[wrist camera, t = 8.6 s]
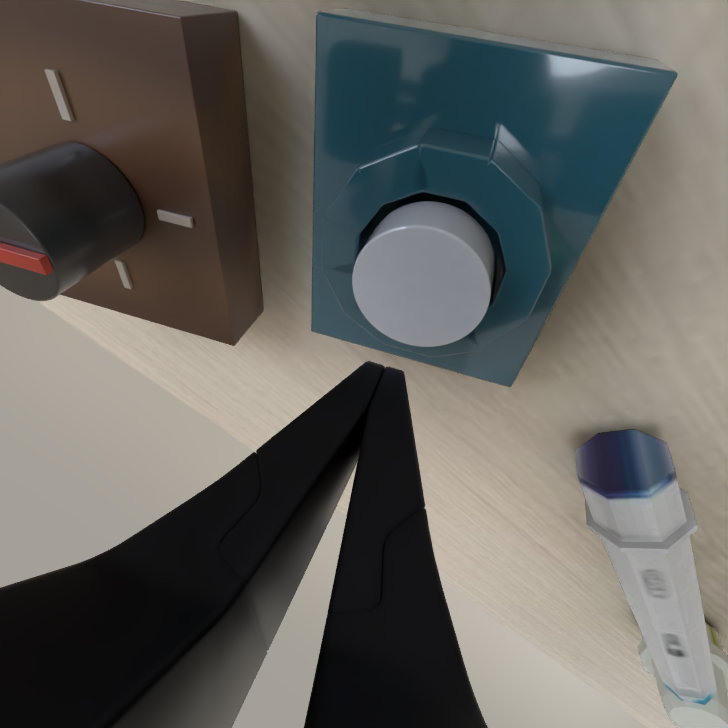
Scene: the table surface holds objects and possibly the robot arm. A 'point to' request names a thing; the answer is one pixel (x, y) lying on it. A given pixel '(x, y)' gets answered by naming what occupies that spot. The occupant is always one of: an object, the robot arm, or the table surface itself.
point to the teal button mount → (469, 163)
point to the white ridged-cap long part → (656, 569)
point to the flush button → (425, 274)
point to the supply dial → (62, 218)
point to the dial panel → (147, 145)
